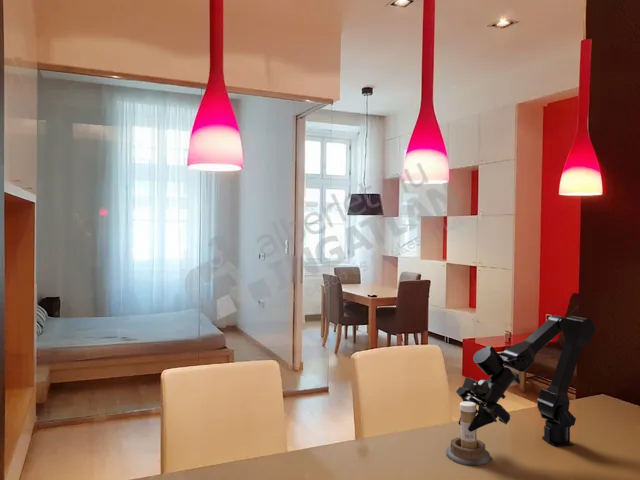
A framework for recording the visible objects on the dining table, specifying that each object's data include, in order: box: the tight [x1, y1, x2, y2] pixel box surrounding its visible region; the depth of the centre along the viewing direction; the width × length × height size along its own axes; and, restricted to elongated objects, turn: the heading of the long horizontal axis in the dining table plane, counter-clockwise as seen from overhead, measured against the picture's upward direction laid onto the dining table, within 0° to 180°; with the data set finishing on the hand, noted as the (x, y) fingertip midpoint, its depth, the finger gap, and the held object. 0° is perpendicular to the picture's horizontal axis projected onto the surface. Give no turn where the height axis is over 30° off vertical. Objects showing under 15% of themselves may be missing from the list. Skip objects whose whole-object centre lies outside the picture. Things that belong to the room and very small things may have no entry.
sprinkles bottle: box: [459, 401, 478, 449], centre depth 146 cm, size 5×5×14 cm
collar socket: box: [445, 436, 491, 466], centre depth 146 cm, size 12×12×4 cm
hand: (464, 427), depth 146 cm, fingers closed on sprinkles bottle, 4 cm apart
